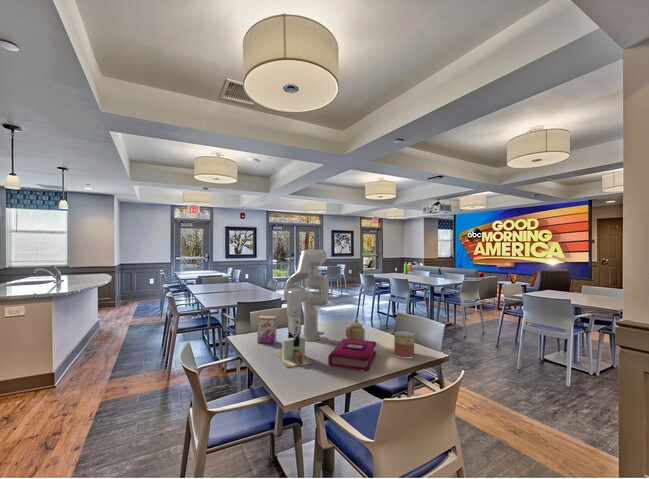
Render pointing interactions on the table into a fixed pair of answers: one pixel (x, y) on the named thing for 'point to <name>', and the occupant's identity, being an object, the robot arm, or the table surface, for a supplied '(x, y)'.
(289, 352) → the sage plate
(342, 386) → the table surface
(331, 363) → the book
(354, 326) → the sugar bowl
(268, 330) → the candy bar box
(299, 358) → the slot board
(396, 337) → the canned food
